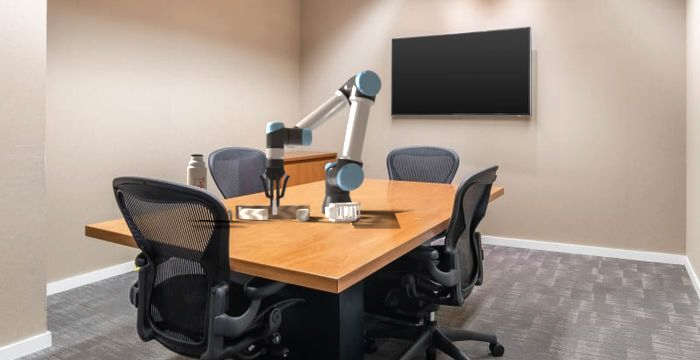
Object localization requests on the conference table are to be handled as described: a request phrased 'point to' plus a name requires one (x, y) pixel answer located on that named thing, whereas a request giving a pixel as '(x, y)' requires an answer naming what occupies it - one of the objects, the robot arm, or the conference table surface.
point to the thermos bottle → (197, 172)
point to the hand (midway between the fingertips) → (274, 214)
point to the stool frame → (280, 211)
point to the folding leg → (253, 214)
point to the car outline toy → (343, 211)
